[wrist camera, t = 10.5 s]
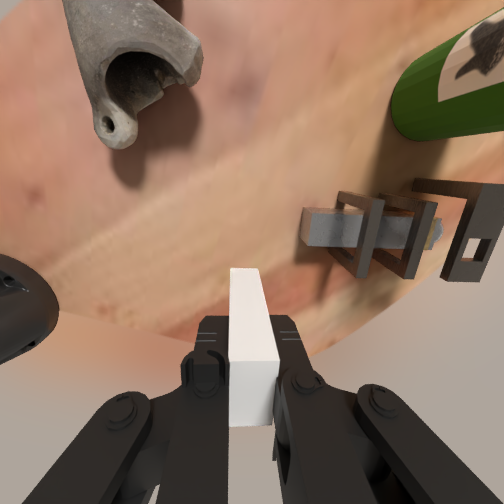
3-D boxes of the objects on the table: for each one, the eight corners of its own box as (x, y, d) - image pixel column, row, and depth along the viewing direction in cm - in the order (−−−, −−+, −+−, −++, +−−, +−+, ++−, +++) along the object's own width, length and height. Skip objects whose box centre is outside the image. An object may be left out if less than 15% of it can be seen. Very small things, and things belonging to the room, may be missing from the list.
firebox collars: (328, 252, 33) (364, 285, 24) (341, 174, 30) (390, 177, 20) (411, 254, 34) (476, 288, 25) (434, 179, 31) (520, 185, 21)
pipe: (130, 75, 32) (169, 166, 29) (42, 42, 25) (81, 155, 22) (181, -97, 21) (253, 18, 18) (51, -233, 14) (128, -89, 11)
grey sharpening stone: (299, 236, 32) (307, 246, 29) (303, 206, 31) (312, 212, 27) (422, 241, 34) (445, 250, 30) (431, 212, 32) (457, 218, 29)
